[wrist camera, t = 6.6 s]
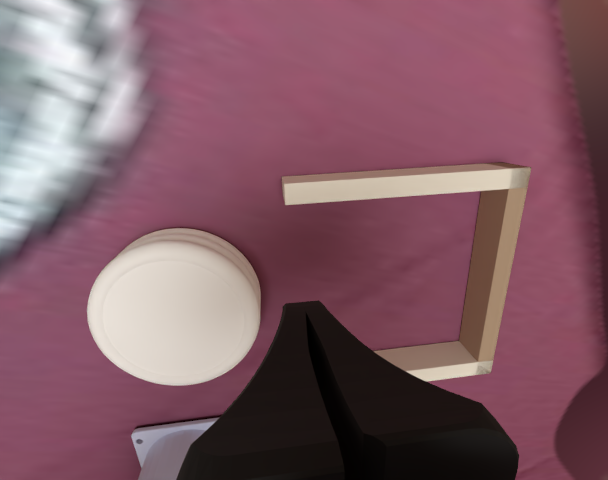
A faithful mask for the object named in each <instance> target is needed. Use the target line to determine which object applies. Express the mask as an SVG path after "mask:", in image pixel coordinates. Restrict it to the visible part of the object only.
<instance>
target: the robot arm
mask: <svg viewBox="0 0 608 480" xmlns="http://www.w3.org/2000/svg"><path fill="white" fill-rule="evenodd" d="M131 436H132V440H133V443H134V447H135V450H136V453H137V456H138V459H139V462H140V465H141V468H142V469H141V472H140V475H139V478H138V480H515V477H516V473H517V469H518V460H519V454H518V451H517V448H516V445H515V444H514V443H513V441H512V440H511V439H510V437H509V436H508V435H507V434H506V432H505V431H504V429H503V428H502V427H501V426H500V424H499V423H498V422H497V420H496V419H495V418H494V417H493V416H492V415H491V414H490V412H489V411H488V410H487V409H486V408H485V407H484V406H483V405H482V403H479V402H476V401H473V400H471V399H468V398H465V397H463V396H460V395H457V394H454V393H452V392H449V391H446V390H444V389H441V388H439V387H437V386H435V385H432V384H430V383H428V382H426V381H424V380H422V379H419V378H417V377H415V376H413V375H411V374H410V373H408V372H406V371H404V370H402V369H401V368H399V367H397V366H395V365H393V364H392V363H390V362H389V361H387V360H385V359H384V358H382V357H381V356H379V355H378V354H376V353H375V352H374V351H372V350H371V349H369V348H368V347H367V346H365V345H364V344H363V343H362V342H360V341H359V340H358V339H357V338H356V337H355V336H353V335H352V334H351V333H350V332H349V331H348V330H347V329H346V328H345V327H344V326H343V325H342V324H341V323H340V322H339V321H338V320H337V319H336V318H335V317H334V316H333V315H332V314H331V313H330V312H329V311H328V310H327V309H326V307H325V306H324V305H323V304H322V303H321V302H320V301H310V302H299V303H289V304H285V305H284V306H283V312H282V317H281V321H280V324H279V327H278V330H277V332H276V335H275V337H274V340H273V342H272V344H271V346H270V348H269V350H268V352H267V354H266V356H265V358H264V360H263V362H262V363H261V365H260V367H259V368H258V370H257V371H256V373H255V375H254V376H253V377H252V379H251V380H250V382H249V383H248V384H247V386H246V387H245V389H244V390H243V391H242V392H241V394H240V395H239V396H238V397H237V399H236V400H235V401H234V402H233V403H232V404H231V405H230V407H229V408H228V409H227V410H226V411H225V412H224V413H223V414H222V416H221V417H219V418H211V419H204V420H196V421H189V422H181V423H174V424H166V425H159V426H151V427H143V428H137V429H135V430H134V431H133V433H132V435H131Z"/></svg>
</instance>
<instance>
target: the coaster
mask: <svg viewBox="0 0 608 480" xmlns="http://www.w3.org/2000/svg"><path fill="white" fill-rule="evenodd" d="M260 310H261V291H260V285H259V281H258V278H257V275H256V273H255V271H254V269H253V267H252V266H251V264H250V263H249V261H248V260H247V259H246V258H245V256H244V255H243V254H242V253H241V252H240V251H239V250H238V249H236V248H235V247H234V246H233V245H231V244H230V243H228V242H227V241H225V240H223V239H222V238H220V237H218V236H216V235H213V234H211V233H208V232H204V231H201V230H196V229H189V228H173V229H164V230H159V231H155V232H152V233H150V234H147V235H144V236H143V237H141V238H139V239H137V240H135V241H134V242H132V243H131V244H130V245H128V246H127V247H126V248H125V249H124V250H123V251H122V252H120V253H119V254H118V255H117V256H116V257H115V258H114V259H113V260H112V261H111V262H110V263H109V264H108V265H107V266H106V267H105V268H104V269H103V270H102V271H101V273H100V274H99V276H98V277H97V279H96V281H95V283H94V285H93V287H92V290H91V293H90V296H89V299H88V307H87V316H88V323H89V328H90V331H91V334H92V336H93V339H94V340H95V342H96V344H97V345H98V347H99V348H100V350H101V351H102V352H103V353H104V355H105V356H106V357H107V358H108V359H109V360H110V361H111V362H113V363H114V364H115V365H117V366H118V367H119V368H121V369H122V370H124V371H126V372H127V373H129V374H131V375H133V376H135V377H138V378H140V379H143V380H146V381H149V382H153V383H157V384H163V385H174V386H179V385H192V384H198V383H202V382H206V381H209V380H212V379H214V378H217V377H219V376H221V375H223V374H225V373H226V372H228V371H229V370H231V369H232V368H233V367H235V366H236V365H237V364H238V363H239V362H240V361H241V360H242V359H243V358H244V357H245V356H246V354H247V353H248V351H249V350H250V349H251V347H252V345H253V343H254V341H255V339H256V337H257V334H258V330H259V326H260Z"/></svg>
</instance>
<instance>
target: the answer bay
mask: <svg viewBox="0 0 608 480" xmlns="http://www.w3.org/2000/svg"><path fill="white" fill-rule="evenodd" d="M530 171H531V167H526V166H520V165H515V164H509V163H503V162H500V163H484V164H469V165H454V166H438V167H423V168H407V169H392V170H376V171H361V172H345V173H330V174H314V175H299V176H283V177H282V190H283V198H284V202H285V205H295V204H308V203H322V202H336V201H349V200H363V199H377V198H390V197H404V196H418V195H431V194H445V193H459V192H472V191H481V196H480V203H479V209H478V216H477V223H476V230H475V236H474V243H473V250H472V256H471V263H470V270H469V277H468V283H467V290H466V297H465V304H464V310H463V317H462V324H461V330H460V337H459V341H454V342H445V343H437V344H428V345H420V346H412V347H403V348H395V349H387V350H378V351H374V352H375V353H376V354H378V355H379V356H381V357H382V358H384V359H385V360H387V361H389V362H390V363H392V364H393V365H395V366H397V367H399V368H401V369H402V370H404V371H406V372H408V373H410V374H411V375H413V376H415V377H417V378H419V379H422V380H424V381H433V380H441V379H448V378H456V377H464V376H471V375H479V374H487V373H491V368H492V363H493V358H494V353H495V348H496V343H497V338H498V333H499V328H500V323H501V318H502V313H503V308H504V303H505V298H506V292H507V287H508V282H509V277H510V272H511V267H512V262H513V257H514V252H515V247H516V242H517V237H518V232H519V227H520V222H521V217H522V212H523V207H524V202H525V197H526V192H527V187H528V182H529V176H530Z"/></svg>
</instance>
